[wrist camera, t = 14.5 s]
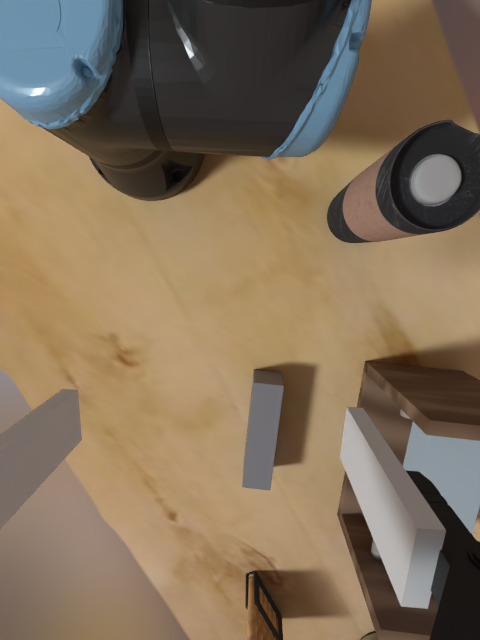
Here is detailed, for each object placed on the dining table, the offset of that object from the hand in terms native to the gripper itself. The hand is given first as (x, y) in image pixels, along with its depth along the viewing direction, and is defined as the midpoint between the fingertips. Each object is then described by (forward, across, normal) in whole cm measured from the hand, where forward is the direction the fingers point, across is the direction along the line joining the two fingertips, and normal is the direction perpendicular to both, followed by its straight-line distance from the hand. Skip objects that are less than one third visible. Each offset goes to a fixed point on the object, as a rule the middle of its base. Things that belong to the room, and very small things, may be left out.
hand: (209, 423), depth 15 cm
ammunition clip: (+29, +6, -50) cm, 59 cm away
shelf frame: (+30, +25, -20) cm, 44 cm away
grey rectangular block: (+30, +4, -17) cm, 35 cm away
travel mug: (+31, +15, +13) cm, 37 cm away
